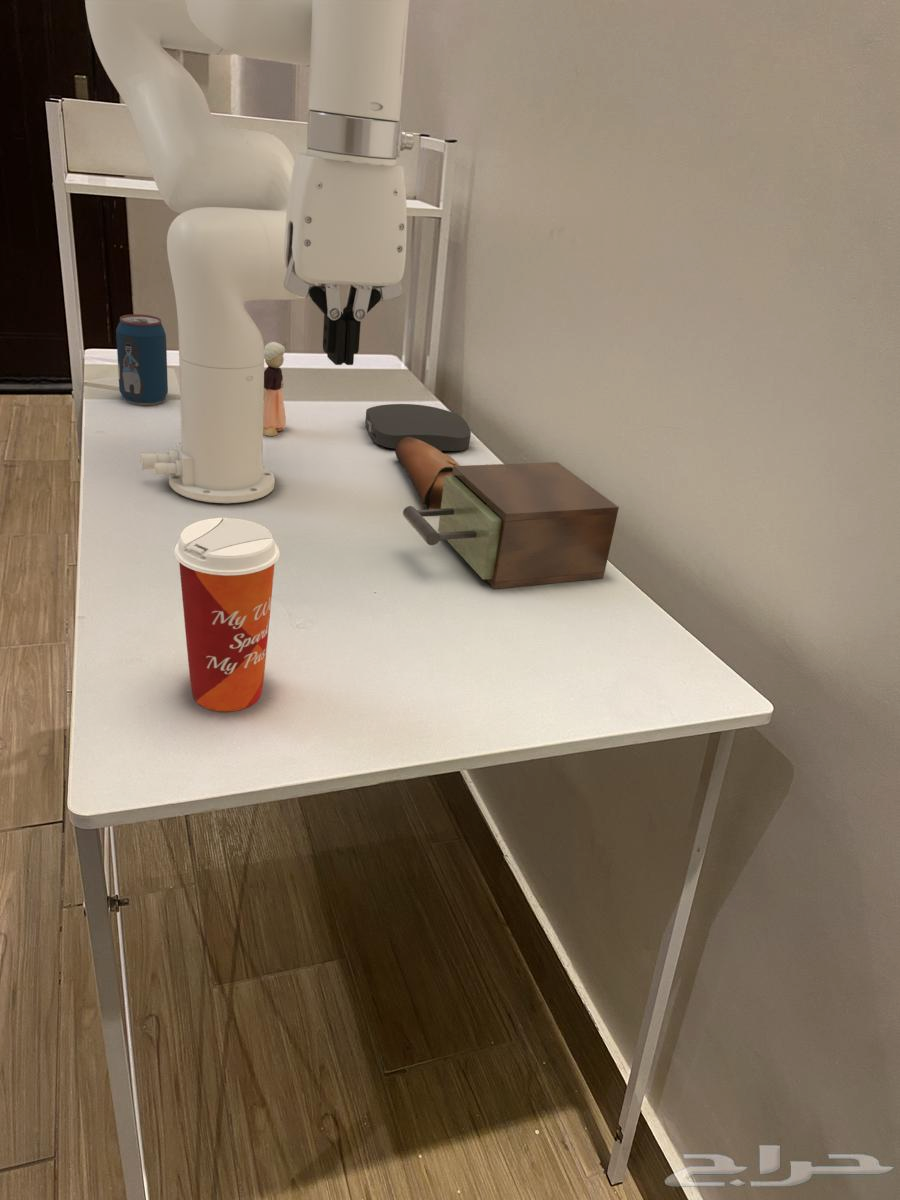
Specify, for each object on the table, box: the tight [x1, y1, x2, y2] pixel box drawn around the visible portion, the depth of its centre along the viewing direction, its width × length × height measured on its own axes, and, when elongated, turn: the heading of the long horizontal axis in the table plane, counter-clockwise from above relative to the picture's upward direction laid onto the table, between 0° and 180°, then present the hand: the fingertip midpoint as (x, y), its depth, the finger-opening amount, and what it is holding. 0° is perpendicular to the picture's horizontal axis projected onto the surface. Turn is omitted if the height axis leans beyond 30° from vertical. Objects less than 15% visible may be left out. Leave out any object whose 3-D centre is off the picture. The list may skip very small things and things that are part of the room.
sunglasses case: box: [394, 437, 461, 510], centre depth 119 cm, size 18×7×7 cm
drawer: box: [402, 476, 502, 581], centre depth 100 cm, size 18×12×7 cm
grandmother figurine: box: [263, 341, 287, 437], centre depth 129 cm, size 8×4×13 cm, turn 179°
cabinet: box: [452, 461, 620, 590], centre depth 102 cm, size 14×14×9 cm
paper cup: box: [173, 517, 281, 712], centre depth 71 cm, size 8×8×14 cm
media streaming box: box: [364, 403, 472, 452], centre depth 137 cm, size 15×15×3 cm
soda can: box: [115, 313, 169, 406], centre depth 135 cm, size 7×7×12 cm
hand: (339, 360), depth 84 cm, fingers closed
